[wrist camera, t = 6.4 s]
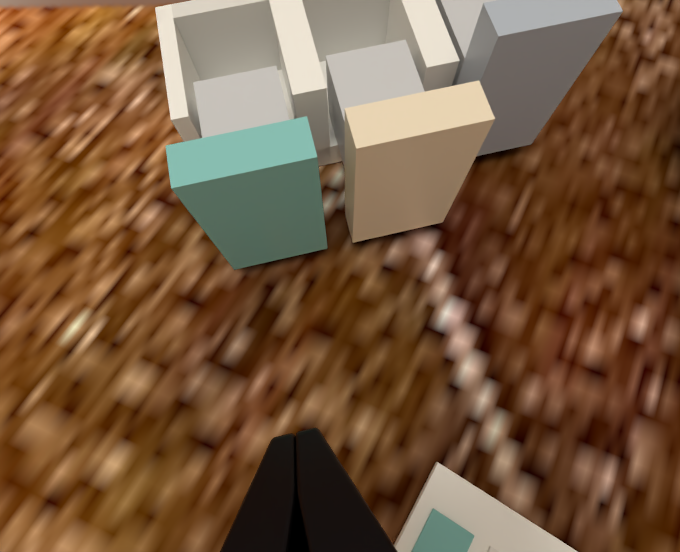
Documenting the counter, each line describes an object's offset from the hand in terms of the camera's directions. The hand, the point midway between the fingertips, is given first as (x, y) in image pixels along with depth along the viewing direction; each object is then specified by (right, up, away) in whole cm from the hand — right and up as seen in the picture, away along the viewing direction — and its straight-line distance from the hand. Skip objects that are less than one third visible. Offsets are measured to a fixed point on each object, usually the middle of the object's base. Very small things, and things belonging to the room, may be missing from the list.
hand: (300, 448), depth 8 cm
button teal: (-3, +7, +13) cm, 15 cm away
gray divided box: (+2, +12, +16) cm, 20 cm away
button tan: (+3, +8, +13) cm, 16 cm away
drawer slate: (+7, +12, +15) cm, 21 cm away
